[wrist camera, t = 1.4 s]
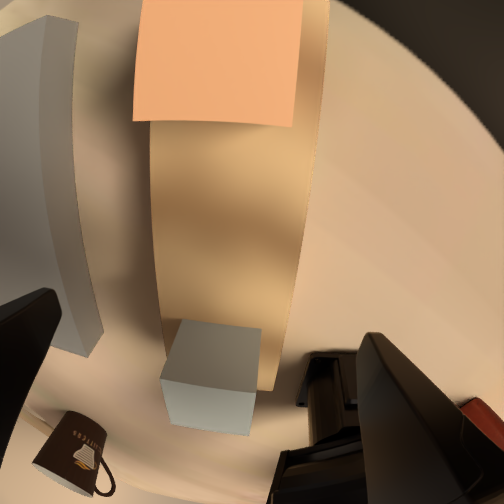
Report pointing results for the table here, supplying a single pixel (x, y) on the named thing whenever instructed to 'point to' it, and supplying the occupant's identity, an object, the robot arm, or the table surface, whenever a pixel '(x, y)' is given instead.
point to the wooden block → (237, 210)
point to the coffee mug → (75, 455)
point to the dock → (43, 179)
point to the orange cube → (218, 61)
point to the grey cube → (212, 377)
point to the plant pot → (485, 420)
